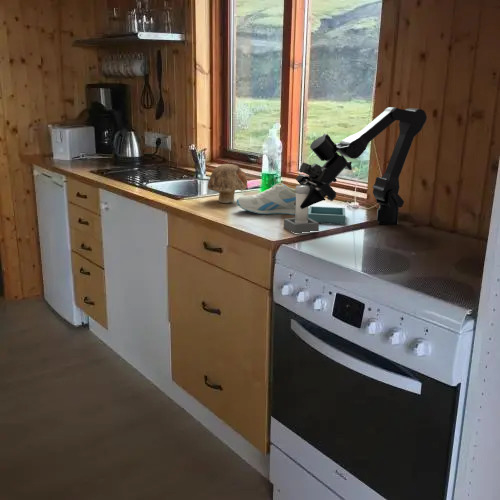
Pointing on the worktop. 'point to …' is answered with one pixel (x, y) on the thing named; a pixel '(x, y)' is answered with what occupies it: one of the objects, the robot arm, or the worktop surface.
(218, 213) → the worktop surface
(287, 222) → the grey square open box
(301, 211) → the cylinder
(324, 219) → the tray
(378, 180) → the robot arm
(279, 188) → the sneaker
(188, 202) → the worktop surface
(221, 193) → the sculpture
